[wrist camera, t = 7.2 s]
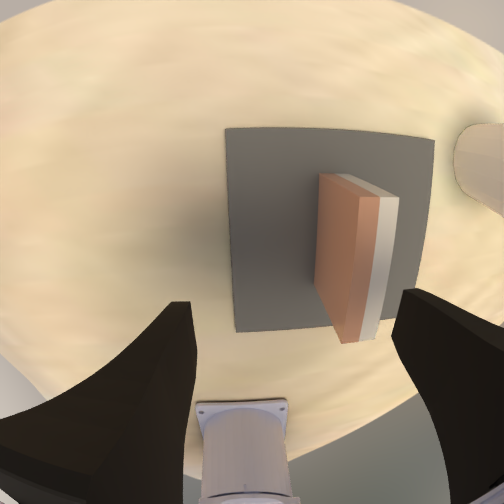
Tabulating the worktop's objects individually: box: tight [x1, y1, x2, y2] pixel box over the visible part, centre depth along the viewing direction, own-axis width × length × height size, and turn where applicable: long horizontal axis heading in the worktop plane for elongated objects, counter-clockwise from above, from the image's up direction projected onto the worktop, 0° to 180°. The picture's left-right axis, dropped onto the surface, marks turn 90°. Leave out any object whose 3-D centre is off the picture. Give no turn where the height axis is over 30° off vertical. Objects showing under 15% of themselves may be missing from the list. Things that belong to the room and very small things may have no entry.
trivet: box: [225, 128, 435, 333], centre depth 18 cm, size 13×13×1 cm
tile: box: [314, 173, 399, 344], centre depth 15 cm, size 7×2×6 cm, turn 1°
